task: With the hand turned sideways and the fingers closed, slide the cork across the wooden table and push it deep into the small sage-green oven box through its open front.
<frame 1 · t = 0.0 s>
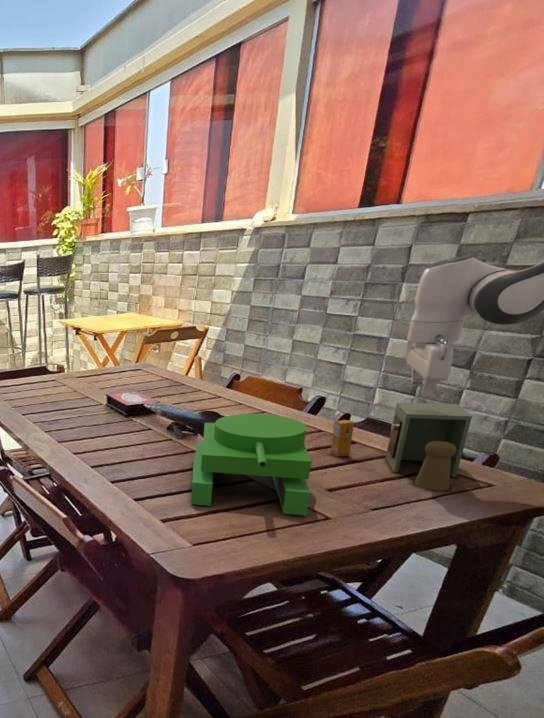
hand: (421, 390, 118), 22 cm above the counter, tool pointing down, fingers open, 8 cm apart
cork: (431, 485, 119), on the counter
tank: (242, 490, 127), on the counter
oven box: (418, 466, 128), on the counter
supplement box: (339, 455, 140), on the counter
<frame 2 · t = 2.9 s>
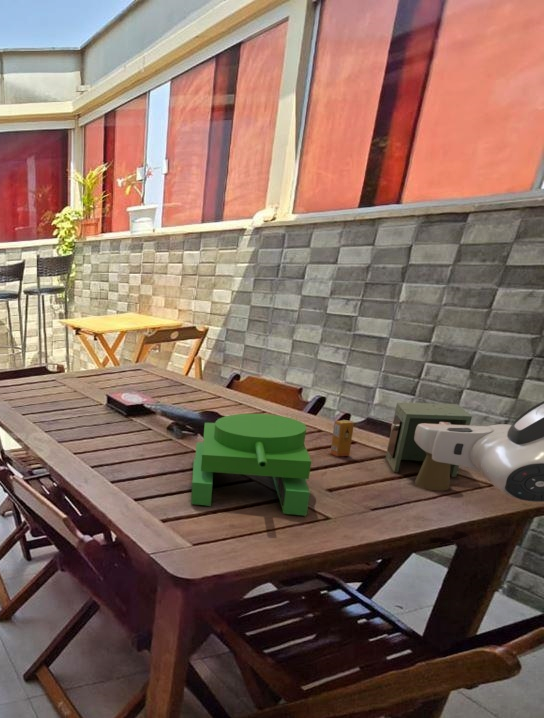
hand: (475, 426, 99), 20 cm above the counter, tool horizontal, fingers open, 8 cm apart
nothing on the counter moved.
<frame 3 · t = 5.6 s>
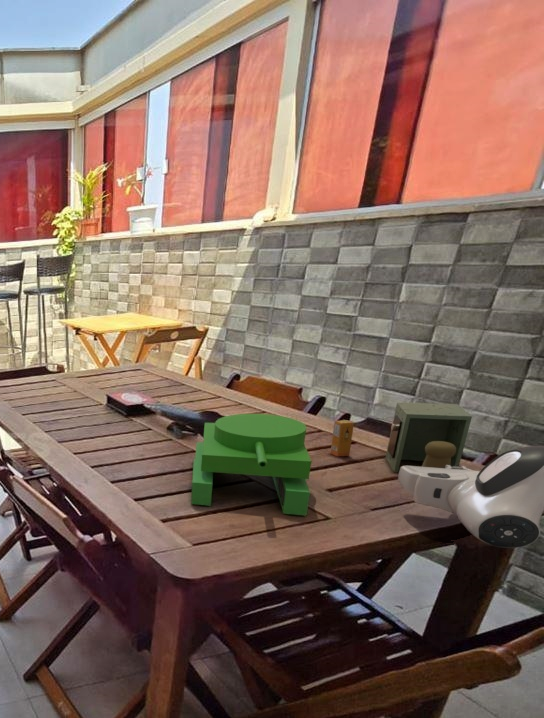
hand: (454, 468, 107), 9 cm above the counter, tool horizontal, fingers closed
nothing on the counter moved.
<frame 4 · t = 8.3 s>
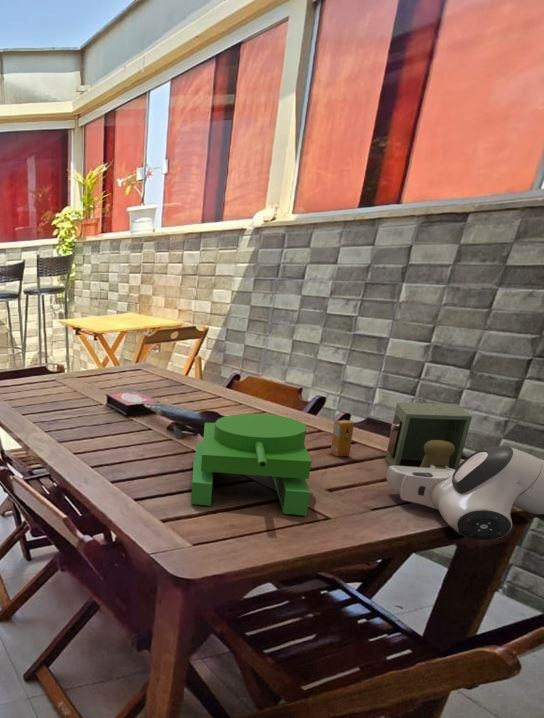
hand: (437, 468, 116), 5 cm above the counter, tool horizontal, fingers closed, pressing on cork
cork: (430, 484, 119), on the counter, touching gripper
everything else where it was.
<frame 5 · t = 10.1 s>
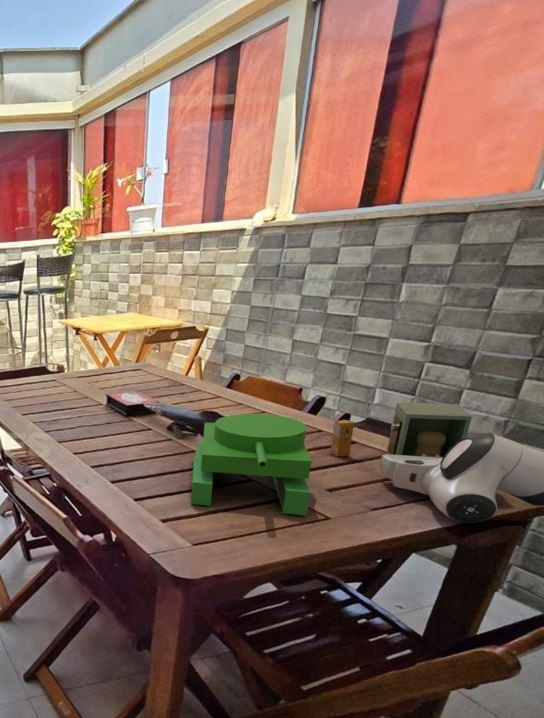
hand: (428, 456, 122), 5 cm above the counter, tool horizontal, fingers closed, pressing on cork
cork: (422, 473, 125), on the counter, touching gripper
everything else where it was.
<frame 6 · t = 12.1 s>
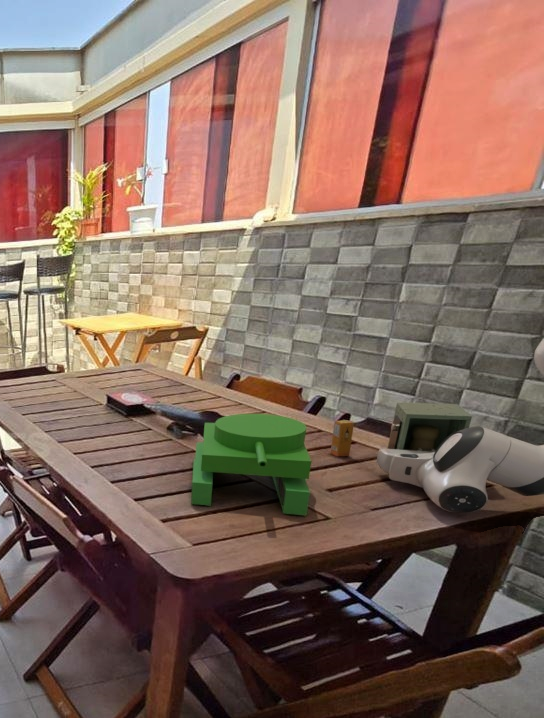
hand: (424, 451, 125), 5 cm above the counter, tool horizontal, fingers closed
cork: (417, 466, 129), on the counter
everything else where it was.
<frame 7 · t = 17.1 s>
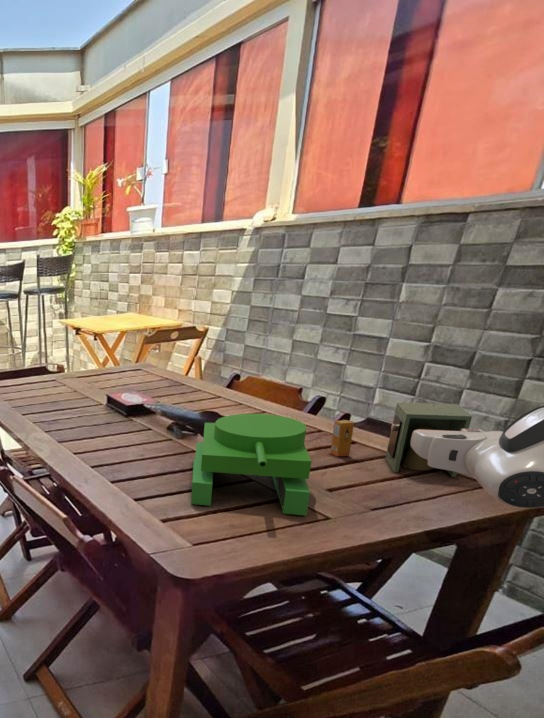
hand: (469, 432, 102), 18 cm above the counter, tool horizontal, fingers closed
nothing on the counter moved.
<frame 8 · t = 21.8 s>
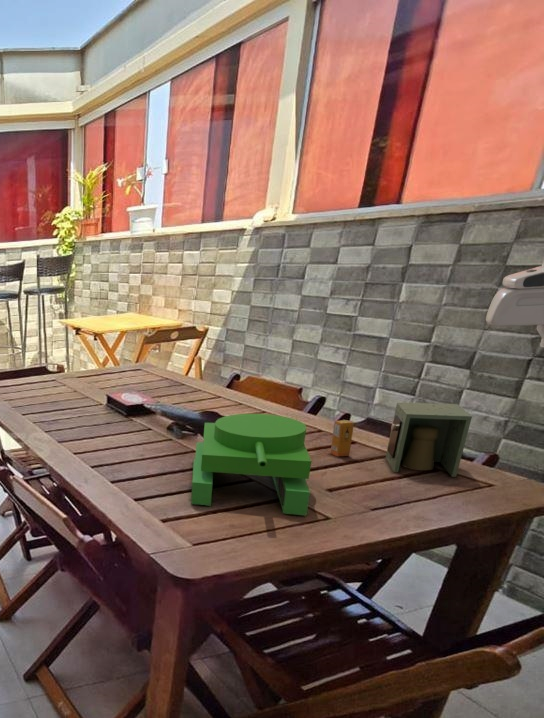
nothing on the counter moved.
at the end: cork inside the target area on the oven box (0.7 cm from its centre), point 0.0 cm above the oven box's base; cork tilted 0°; cork moved 12.7 cm from its start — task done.
